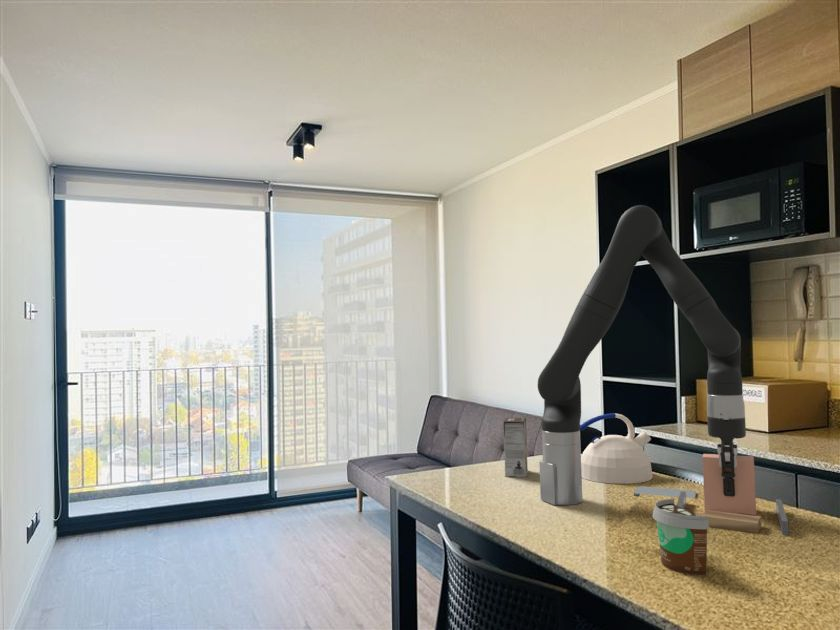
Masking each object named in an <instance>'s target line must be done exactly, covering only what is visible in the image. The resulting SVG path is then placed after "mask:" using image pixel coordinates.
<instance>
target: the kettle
mask: <svg viewBox="0 0 840 630" xmlns="http://www.w3.org/2000/svg"><path fill="white" fill-rule="evenodd" d="M614 418H615V419H616V418H617V419H620V420H622V421H623V422H624V423H625V424H626V426H627V432H628V433H627V435H626V436H623V435H620V434H619V435H618V434H607V435H606V434H605V435H603V436H596V437H594V438H592V440H591V442H590V443H589V444H588V445H587V446H586V448H585V449H584V451H583V452H582V453H581V474H582V479H584V480H587V481H591V482H595V483H601V484H611V485H612V484H613V485H631V484H630V483H635V484H641V482H643V483H646V481H647V482H649V481H651V480H652V479H653V471H652V465H651V464H652V463H651V460H650V458H649V456H648V454H647V452H646V451H645V450H644V449H643V448H644V447H645V446H646V445H647V444H648V443H649V442H650V441H652V438H651V437H650V435H649V434H648V433H647V432H645V431H643V430H641V433H639V434H638V435H637V436H636V431H635V426H634V425H633V422H632V421H631V420H630V419H629V418H628V417H626V416H625V415H623V414H620V413H615V412H611V413H604V414H601V415H597V416H595V417H592V418H590V419H588V420H586V421H584V422H583V423H582V424H580V431H584V430H586V428H588V427H589V426H591V425H593V424H594V423H597V422H599V421H603V420H605V419H614ZM635 436H636V437H635Z"/></svg>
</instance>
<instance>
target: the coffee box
mask: <svg viewBox="0 0 840 630" xmlns="http://www.w3.org/2000/svg"><path fill="white" fill-rule="evenodd" d="M527 434H528V433H527V417H505V418H504V421H503V445H504V447H503V449H504V450H503V451H504V452H503V453H504V476H505V477H506V476H516V477H515V478H527V477H528V476H527V475H528V442H527V440H528V439H527V438H528V437H527V436H528V435H527Z"/></svg>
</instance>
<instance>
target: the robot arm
mask: <svg viewBox="0 0 840 630" xmlns="http://www.w3.org/2000/svg"><path fill="white" fill-rule="evenodd" d="M609 243H610V244H609V246H608V248H607V251H606V252H605V255H604V256H603V258H602V260H601V262H600V264H599V265H598V267H597V269H596V270H595V271H594V273H593V275H592V277H591V278H590V280H589V283H588V284H587V285H586V287H585V289H584V291H583V293H582V295H581V297H580V299H579V301H578V303H577V305H576V307H575V308H574V312H573V313H572V315H571V317H570V320H569V322H568V324H567V327H566V328H565V331H564V333H563V335H562V338H561V341H560V342H559V344H558V346H557V348H556V350H555V351H554V353H553V354H552V356H551V357H550V359H549V360H548V362H547V363H546V365H545V366H544V367H543V369H542V370H541V372H540V374H539V376H538V379H537V391H538V394H539V395H540V397H541V398H542V399H543V400H544V401H543V402H544V403H543V404H544V405H543V406H544V409H543V414H542V419H541V442H542V443H541V446H542V449H541V450H542V460H540V461H539V464H538V465H539V486H540V488H539V489H540V490H539V491H540V494H539V496H540V500H541V501H544V502H546V503H549V504H551V505H552V506H553V505H554V506H555V505H557V506H558V505H561V506H562V505H563V506H568V505H569V506H571V505H578V504H580V503H582V502H583V481H582V479H583V478H582V474H581V456H582V451H581V449H582V448H581V430H580V426H581V419H582V389H581V388H582V385H581V379H580V374H581V372H582V370H583V367H584V365H585V363H586V361H587V360H588V358H589V356H591V355H590V354H592V352H593V351H594V349H595V348H596V346H597V345H598V344H599V343H600V342H601V341H602V339H603V338H604V336H605V335H606V333H607V332H608V331H609V330H610V328H611V326H612V324H613V322H614V321H615V319H616V318H617V315H618V313H619V311H620V309H621V307H622V304H623V303H624V301H625V300H624V299H625V298H626V294H627V291H628V289H629V283H630V280H631V277H632V274H633V271H634V269H635V267H636V265H637V263H638V262H639V260H640V258H641V256H642V257H643V258H644V260H646V261H647V262H648V264H649V265H650V267H651V268H652V269H654V271H655V273H656V275H657V276H658V278H659V279H660V281H661V283H662V284H663V286H664V288H665V289H666V291H667V293H668V294H669V296H670V297H671V299H672V300H673V302H674V304H676V306H677V308H678V309H679V310H680V311H681V313H682V314H683V316H684V317H685V318H686V320H687V321H688V322H689V323H690V324H691V326H692V327H693V330H694V331H695V333H696V334H697V337H698V338H699V339H700V340H701V342H702V343H703V345H704V347H705V348H706V349H707V365H708V369H707V375H706V386H707V389H706V391H707V399H706V414H707V415H706V416H707V418H706V419H707V435H708V436H710V437H711V438H719V439H720V440H721V443H717V446H716V448H717V455H719V466H720V467H722V473H721V476H722V478H723V492H724V495H725V496H731V497H733V496H735V484H734V479H735V478H736V477H735V472H734V469H735V468H736V467H737V459H736V456H738V454H739V453H738V444H734V439H743V438H745V437H746V436H747V429H746V409H745V407H746V406H745V400H744V395H743V394H744V390H743V375H742V372H741V371H742V370H741V363H742V362H741V359H742V358H741V356H742V355H741V354H742V353H741V351H742V345H741V344H742V343H741V342H742V340H741V335H740V333H739V331H738V330H737V329H736V328H735V327H734V326H733V325H732V324H731V323H730V321H729V320H728V319H727V318H726V317H725V315H724V314H723V313H722V311H721V310H720V309H719V307H718V306H717V303H716V301H715V300H714V298H713V297H712V296H711V294H710V293H709V292H708V290H707V289H706V288H705V286H704V284H703V283H702V282H701V281H700V279H699V278H698V277H697V276H696V275H695V273H693V271H692V270H691V269H690V268H689V267H688V265H687V264H686V263H685V262H684V261H683V260H682V258H681V257H680V256H679V254H678V253H677V251H676V250H675V249H674V246H673V245H672V243H671V242H670V240H669V238H668V235H667V234H666V231H665V230H664V228H663V224H662V220H661V218H660V217H659V215H658V213H656V211H655V210H654V209H652V208H651V207H649V206H648V205H643V204H642V205H641V204H638V205H634V206H631V207H630V208H628V209H627V210H625V211H624V213H622V214H621V216H620V218H619V219H618V222H617V225H616V227H615V230H614V233H613V235H612V238H611V241H610V242H609ZM724 468H731V469H732V472H726V471H725V472H724Z"/></svg>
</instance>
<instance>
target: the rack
mask: <svg viewBox="0 0 840 630" xmlns="http://www.w3.org/2000/svg"><path fill="white" fill-rule="evenodd" d="M676 505H677V506H678V507H680V508H684V509H686V505H687V498H686V492H682V491H681V493H680V496H679V497H678V500H677V503H676ZM775 511H776V515H777V519H778V523H779V527H780V530H781V534H782V536H787V537H788V536H790V535H789V521H788V517H787V514H786V512H785V511H786V510H785V507H784V504H783V501H782V499H780V498H778V499H777V498H775Z"/></svg>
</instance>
